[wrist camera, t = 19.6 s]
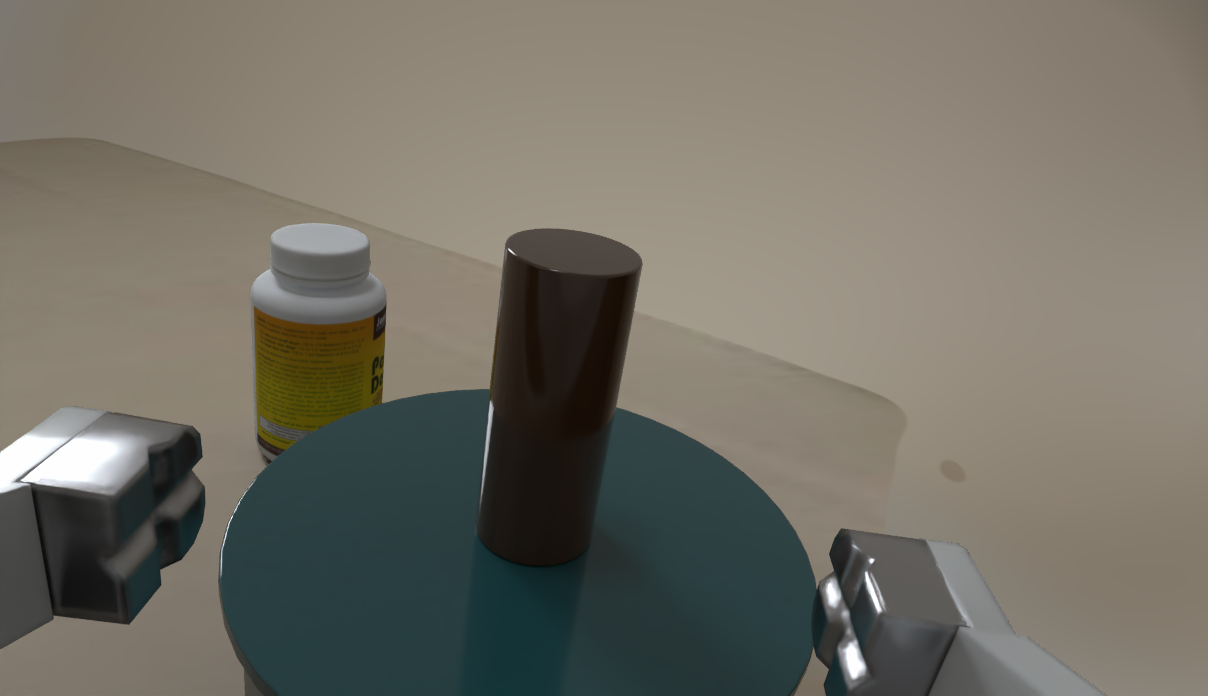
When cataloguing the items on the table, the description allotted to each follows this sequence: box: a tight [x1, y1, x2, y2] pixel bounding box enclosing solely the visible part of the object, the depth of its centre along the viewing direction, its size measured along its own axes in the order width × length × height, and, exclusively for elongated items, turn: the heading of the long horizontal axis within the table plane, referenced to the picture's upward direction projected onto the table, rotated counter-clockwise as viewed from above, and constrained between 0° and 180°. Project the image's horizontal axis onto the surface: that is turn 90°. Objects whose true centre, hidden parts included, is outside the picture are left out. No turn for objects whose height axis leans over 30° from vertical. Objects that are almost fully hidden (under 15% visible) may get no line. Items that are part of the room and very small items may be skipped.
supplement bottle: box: [251, 223, 386, 461], centre depth 36 cm, size 6×6×10 cm
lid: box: [218, 229, 817, 696], centre depth 19 cm, size 15×15×9 cm
